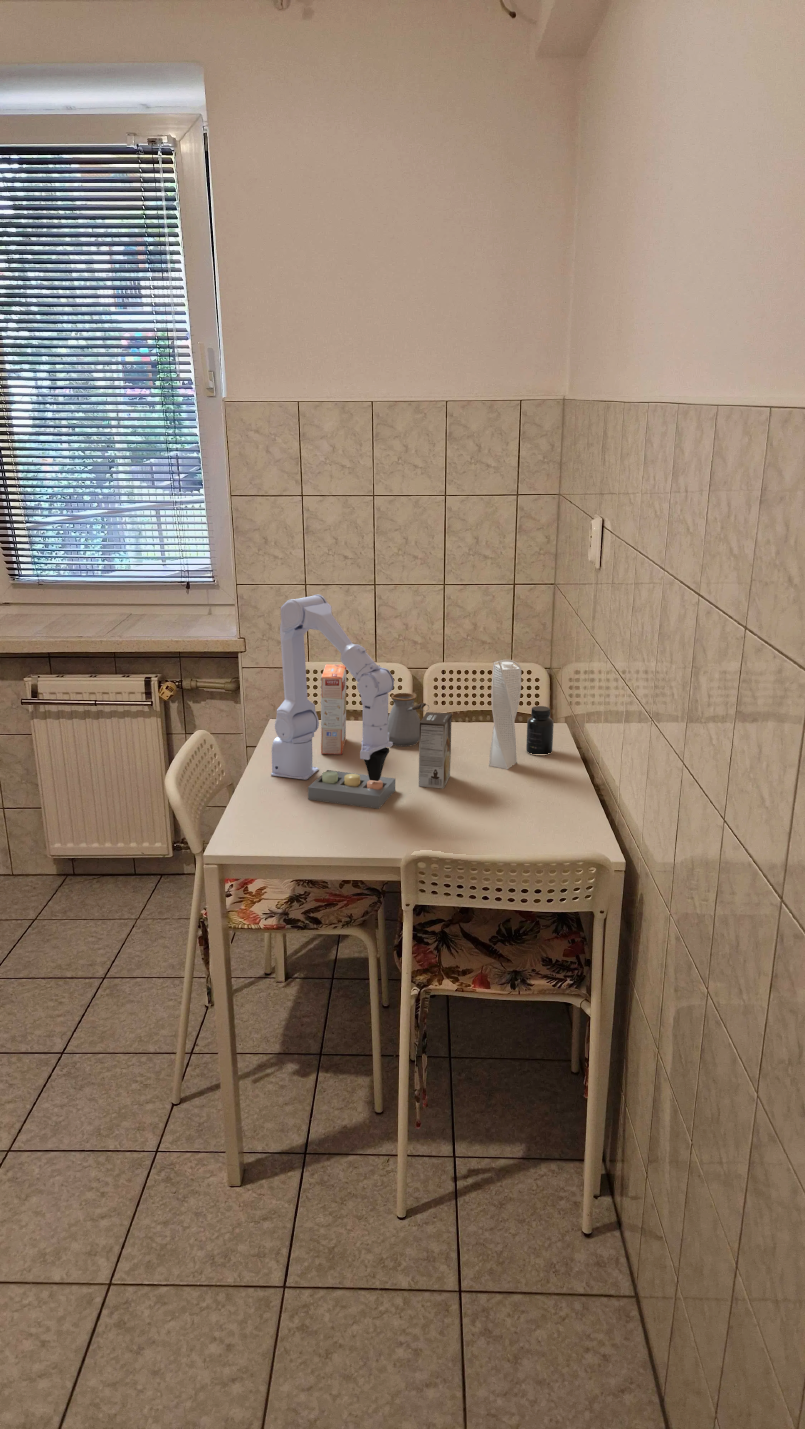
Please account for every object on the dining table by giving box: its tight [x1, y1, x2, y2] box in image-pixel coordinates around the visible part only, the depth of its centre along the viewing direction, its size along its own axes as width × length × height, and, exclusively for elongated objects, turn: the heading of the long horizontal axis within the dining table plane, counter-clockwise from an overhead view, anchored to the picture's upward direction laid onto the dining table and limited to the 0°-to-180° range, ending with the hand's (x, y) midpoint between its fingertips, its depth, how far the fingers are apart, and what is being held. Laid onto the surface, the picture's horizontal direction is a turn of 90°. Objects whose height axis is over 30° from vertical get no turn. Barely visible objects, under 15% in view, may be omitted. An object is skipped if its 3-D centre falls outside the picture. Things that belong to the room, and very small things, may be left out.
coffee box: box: [418, 711, 453, 789], centre depth 238 cm, size 9×6×16 cm
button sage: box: [321, 770, 338, 784], centre depth 231 cm, size 4×4×3 cm
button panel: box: [307, 769, 396, 810], centre depth 230 cm, size 17×12×3 cm
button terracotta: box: [367, 780, 383, 790], centre depth 229 cm, size 4×4×3 cm
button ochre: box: [344, 773, 360, 787], centre depth 230 cm, size 4×4×3 cm
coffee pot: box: [388, 692, 430, 747], centre depth 262 cm, size 21×12×15 cm, turn 20°
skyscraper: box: [488, 658, 522, 770], centre depth 248 cm, size 8×8×28 cm
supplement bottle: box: [525, 705, 554, 754], centre depth 260 cm, size 7×7×12 cm
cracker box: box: [320, 663, 347, 756], centre depth 261 cm, size 14×6×21 cm, turn 179°
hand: (374, 779), depth 228 cm, fingers closed
